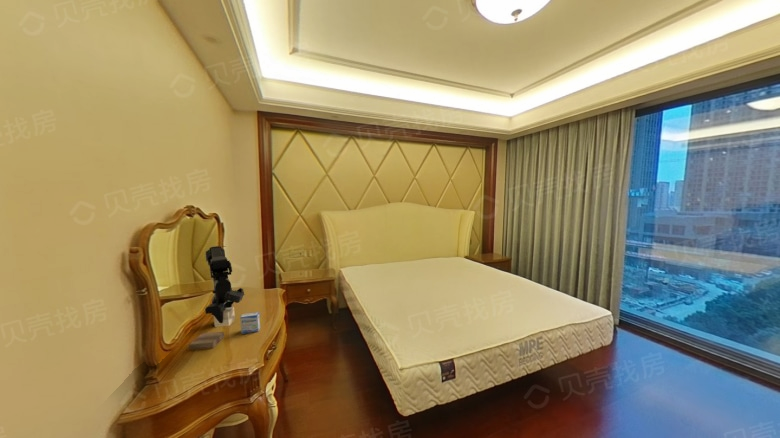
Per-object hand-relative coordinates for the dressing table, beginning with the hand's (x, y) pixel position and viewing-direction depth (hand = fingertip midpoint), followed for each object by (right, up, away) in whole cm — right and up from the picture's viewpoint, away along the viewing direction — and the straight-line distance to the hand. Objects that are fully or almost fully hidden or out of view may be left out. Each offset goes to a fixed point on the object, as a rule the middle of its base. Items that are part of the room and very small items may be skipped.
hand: (224, 319), depth 127 cm
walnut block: (-10, -13, +3) cm, 16 cm away
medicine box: (+5, -11, +14) cm, 18 cm away
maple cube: (0, -2, 0) cm, 2 cm away
